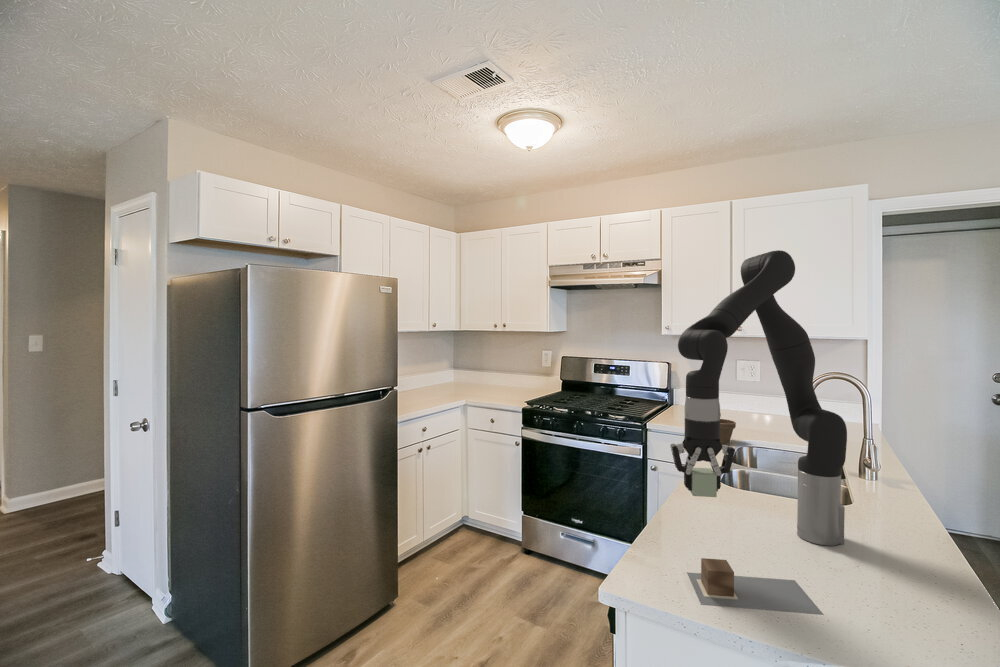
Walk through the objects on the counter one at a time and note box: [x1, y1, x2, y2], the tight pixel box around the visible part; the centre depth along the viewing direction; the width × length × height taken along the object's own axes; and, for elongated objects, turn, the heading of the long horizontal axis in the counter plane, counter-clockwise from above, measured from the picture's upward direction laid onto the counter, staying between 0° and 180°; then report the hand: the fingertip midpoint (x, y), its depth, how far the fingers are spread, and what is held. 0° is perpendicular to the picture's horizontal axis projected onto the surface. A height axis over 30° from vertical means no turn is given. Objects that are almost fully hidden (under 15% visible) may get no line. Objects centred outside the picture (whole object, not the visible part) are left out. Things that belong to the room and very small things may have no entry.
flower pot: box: [720, 418, 737, 445], centre depth 217 cm, size 12×11×10 cm
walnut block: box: [700, 557, 735, 597], centre depth 98 cm, size 5×5×5 cm
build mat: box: [686, 571, 825, 615], centre depth 98 cm, size 22×12×1 cm, turn 81°
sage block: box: [689, 467, 718, 498], centre depth 110 cm, size 5×5×5 cm
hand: (701, 489), depth 110 cm, fingers closed on sage block, 5 cm apart
